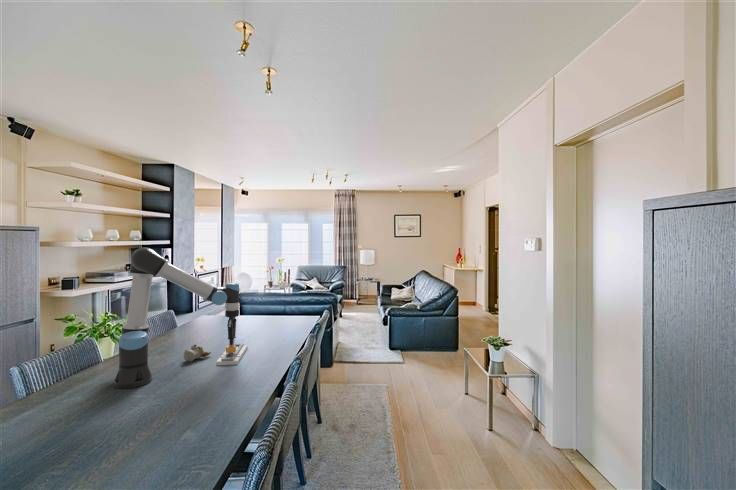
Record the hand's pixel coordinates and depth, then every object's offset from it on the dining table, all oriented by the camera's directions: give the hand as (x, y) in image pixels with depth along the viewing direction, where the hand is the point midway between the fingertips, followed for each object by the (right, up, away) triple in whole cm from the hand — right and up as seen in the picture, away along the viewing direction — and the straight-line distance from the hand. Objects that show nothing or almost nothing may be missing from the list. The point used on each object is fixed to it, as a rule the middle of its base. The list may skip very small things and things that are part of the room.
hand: (231, 349), depth 205 cm
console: (0, -5, +3) cm, 6 cm away
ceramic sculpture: (-20, -5, -2) cm, 21 cm away
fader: (+1, -3, -2) cm, 3 cm away
